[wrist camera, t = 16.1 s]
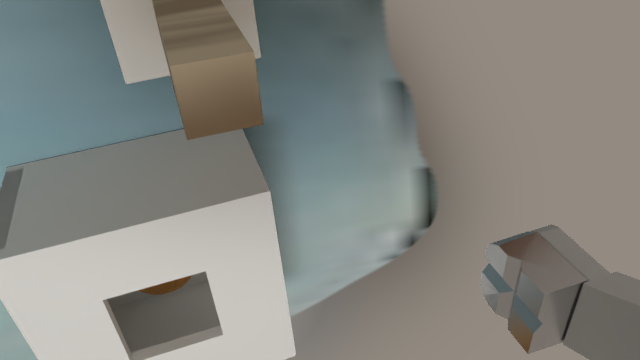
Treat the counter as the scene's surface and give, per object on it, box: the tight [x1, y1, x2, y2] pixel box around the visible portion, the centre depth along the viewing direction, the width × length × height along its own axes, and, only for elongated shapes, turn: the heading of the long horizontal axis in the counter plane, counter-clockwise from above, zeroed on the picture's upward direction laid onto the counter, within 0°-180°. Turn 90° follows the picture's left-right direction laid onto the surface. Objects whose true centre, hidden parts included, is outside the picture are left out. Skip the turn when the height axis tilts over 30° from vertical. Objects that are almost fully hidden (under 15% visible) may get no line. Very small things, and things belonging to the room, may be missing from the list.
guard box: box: [0, 129, 296, 360], centre depth 33 cm, size 14×14×9 cm
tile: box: [100, 0, 261, 84], centre depth 29 cm, size 8×8×1 cm
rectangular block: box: [152, 0, 263, 140], centre depth 24 cm, size 3×3×12 cm
